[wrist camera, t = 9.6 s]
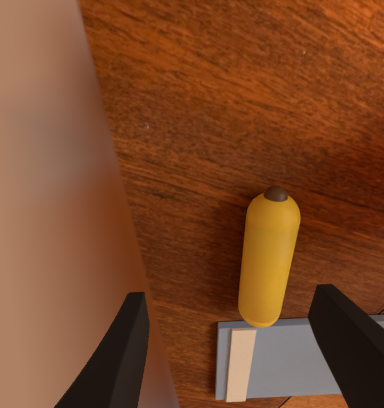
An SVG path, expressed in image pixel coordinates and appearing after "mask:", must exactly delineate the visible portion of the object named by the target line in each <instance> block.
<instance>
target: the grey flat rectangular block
mask: <svg viewBox="0 0 384 408" xmlns="http://www.w3.org/2000/svg"><path fill="white" fill-rule="evenodd" d="M369 316H370V317H371V318H372V319H373V320H375V321H376V322H377V323H378V324H379V325H381V326H382V327H383V328H384V315H369ZM322 394H341V391H340V389H339V387H338V385H337V383H336V381H335V379H334V377H333V375H332V373H331V371H330V369H329V367H328V365H327V363H326V361H325V359H324V357H323V355H322V352H321V350H320V348H319V346H318V344H317V342H316V339H315V337H314V334H313V331H312V329H311V326H310V323H309V320H308V318H296V319H277V321H276V322H275V323H274V324H272V325H271V326H268V327H265V328H258V327H254V326H252V325H250V324H249V323H247V322H246V321H229V322H218V329H217V353H216V378H215V399H216V400H222V399H226V402H240V401H245V400H246V398H262V397H282V396H302V395H322Z"/></svg>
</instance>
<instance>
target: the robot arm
mask: <svg viewBox="0 0 384 408" xmlns="http://www.w3.org/2000/svg"><path fill="white" fill-rule="evenodd" d="M308 320H309V323H310V326H311V329H312V331H313V334H314V337H315V339H316V342H317V344H318V346H319V348H320V350H321V352H322V355H323V357H324V359H325V361H326V363H327V365H328V367H329V369H330V371H331V373H332V375H333V377H334V379H335V381H336V383H337V385H338V387H339V389H340V391H341V393H342V395H343V397H344V399H345V401H346V403H347V405H348V407H349V408H384V328H383V327H382V326H381V325H379V324H378V323H377V322H376V321H375V320H373V319H372V318H371V317H370V316H369V315H367V314H366V313H365V312H364V311H363V310H362V309H360V308H359V307H358V306H357V305H356V304H355V303H353V302H352V301H351V300H350V299H349V298H348V297H347V296H345V295H344V294H343V293H342V292H341V291H340V290H338V289H337V288H336V287H335V286H334V285H332V284H320V285H317V287H316V290H315V294H314V297H313V301H312V304H311V307H310V311H309V314H308ZM148 337H149V318H148V312H147V305H146V300H145V293H144V292H132V293H129V294H127V296H126V298H125V301H124V302H123V304H122V306H121V308H120V310H119V312H118V314H117V316H116V317H115V319H114V321H113V323H112V324H111V326H110V328H109V329H108V331H107V333H106V334H105V336H104V337H103V339H102V341H101V342H100V344H99V346H98V347H97V349H96V350H95V352H94V353H93V355H92V356H91V358H90V359H89V361H88V362H87V364H86V365H85V367H84V368H83V369H82V371H81V372H80V374H79V375H78V377H77V378H76V379H75V381H74V382H73V383H72V385H71V386H70V388H69V389H68V390H67V391H66V393H65V394H64V395H63V397H62V398H61V399H60V400H59V402H58V403H57V404H56V405H55V407H54V408H137V406H138V401H139V395H140V389H141V383H142V378H143V373H144V367H145V361H146V356H147V349H148Z"/></svg>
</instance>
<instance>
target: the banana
mask: <svg viewBox="0 0 384 408" xmlns="http://www.w3.org/2000/svg"><path fill="white" fill-rule="evenodd" d="M300 218H301V217H300V210H299V208H298V205H297V204H296V202H295V201H294V200H293V199H292V198H291V197H290V196H288V194H287V192H286V190H285V189H284V188H282V187H280V186H271V187H269V188H268V189H267V190H266V191H265V192H264V193H262V194H260V195H258V196H257V197H255V198H254V199H253V200H252V202H251V203H250V204H249V207H248V209H247V214H246V224H245V234H244V245H243V255H242V266H241V276H240V287H239V297H238V308H239V311H240V314H241V316H242V317H243V318H244V320H245V321H246V322H247V323H249V324H250V325H252V326H254V327H258V328H265V327H268V326H271V325H272V324H274V323H275V322H276V321H277V319H278V318H279V315H280V312H281V308H282V303H283V298H284V294H285V289H286V285H287V280H288V275H289V271H290V266H291V262H292V257H293V252H294V248H295V243H296V239H297V234H298V230H299V225H300Z"/></svg>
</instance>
